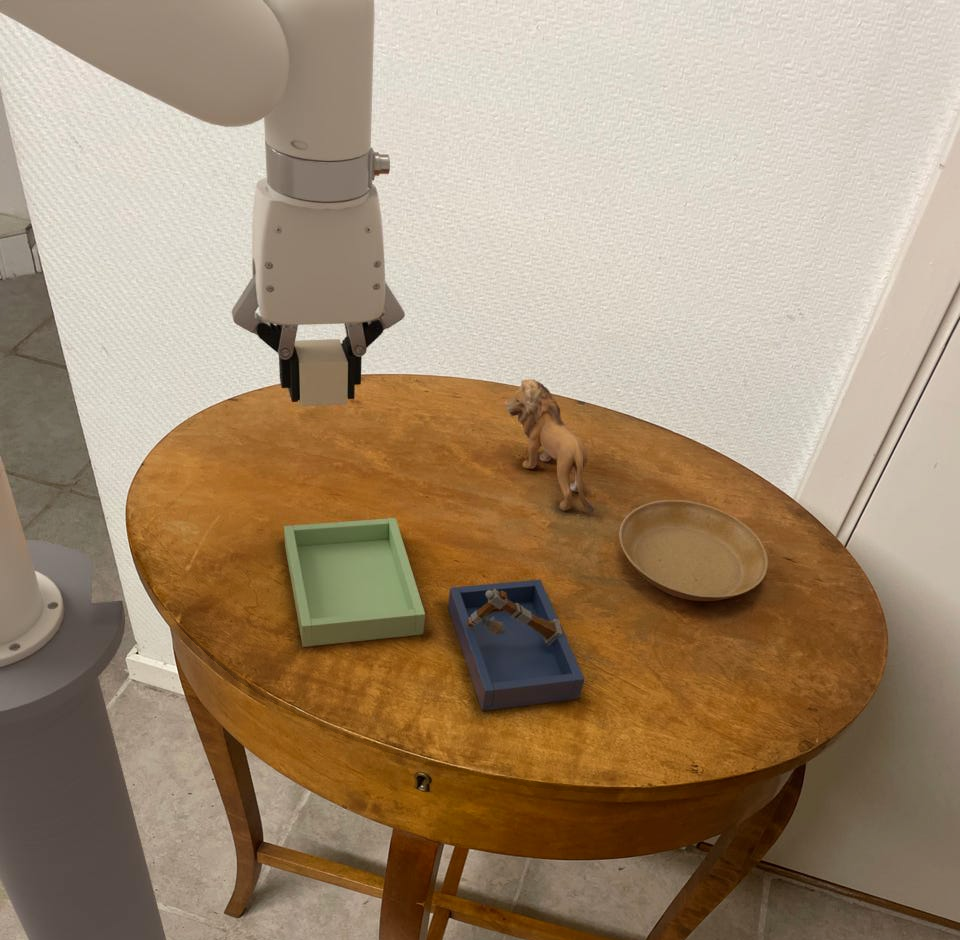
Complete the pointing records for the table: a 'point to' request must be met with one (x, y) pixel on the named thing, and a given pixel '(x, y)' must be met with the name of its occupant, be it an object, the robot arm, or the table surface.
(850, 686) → the table surface
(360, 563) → the sage tray
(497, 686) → the slate tray
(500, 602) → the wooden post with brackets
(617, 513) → the table surface
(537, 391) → the lion figurine
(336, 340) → the cream block
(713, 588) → the plant saucer
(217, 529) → the table surface
